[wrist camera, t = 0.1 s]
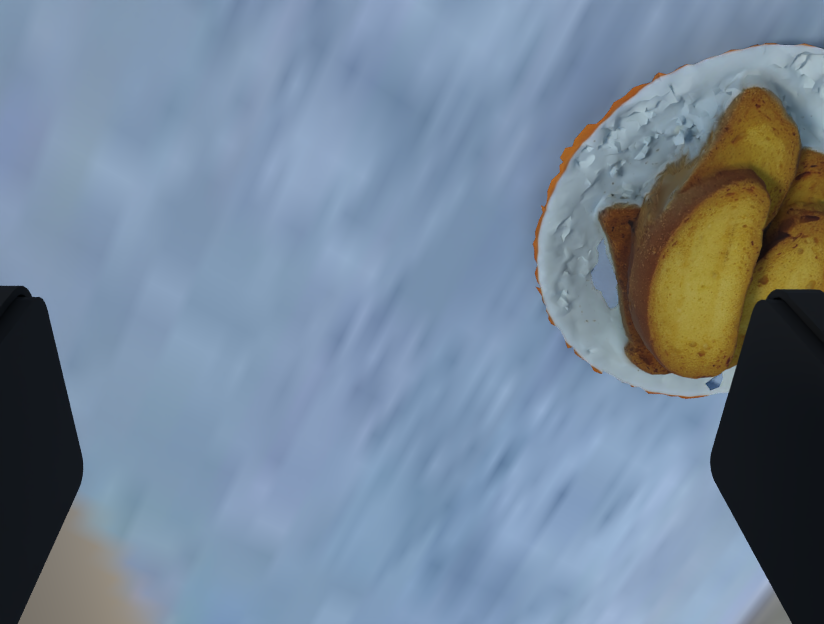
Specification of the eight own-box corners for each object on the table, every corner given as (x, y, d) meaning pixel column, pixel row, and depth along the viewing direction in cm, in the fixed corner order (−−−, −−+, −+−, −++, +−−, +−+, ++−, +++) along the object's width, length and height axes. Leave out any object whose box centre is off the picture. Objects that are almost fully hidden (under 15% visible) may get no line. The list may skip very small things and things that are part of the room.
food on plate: (958, 274, 54) (1025, 324, 49) (631, 436, 60) (658, 497, 55) (850, -66, 43) (923, -52, 37) (460, 177, 49) (472, 220, 43)
